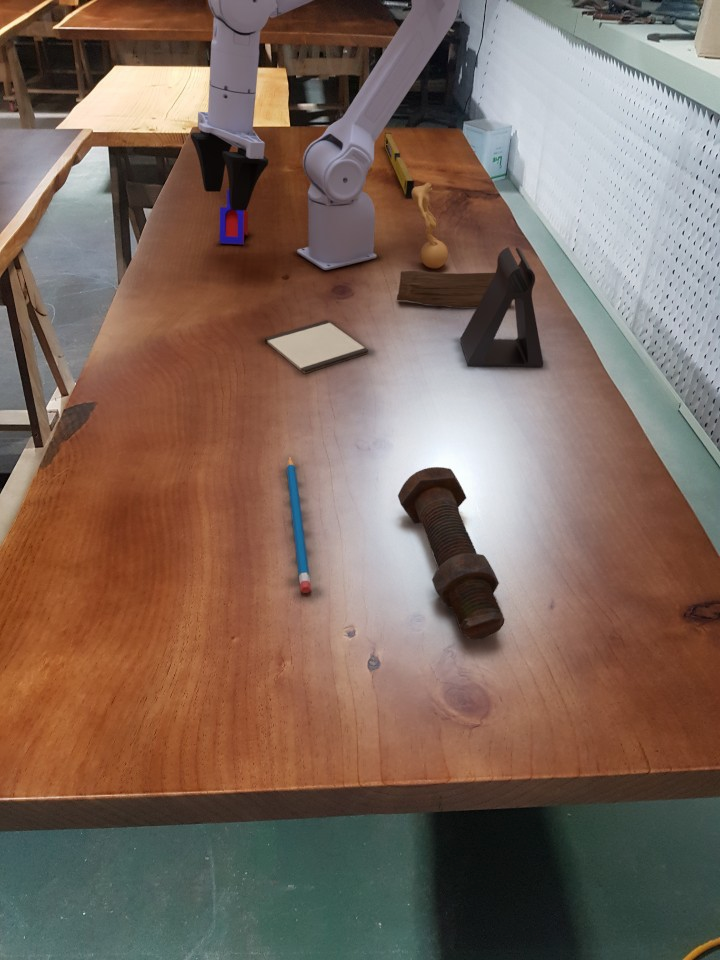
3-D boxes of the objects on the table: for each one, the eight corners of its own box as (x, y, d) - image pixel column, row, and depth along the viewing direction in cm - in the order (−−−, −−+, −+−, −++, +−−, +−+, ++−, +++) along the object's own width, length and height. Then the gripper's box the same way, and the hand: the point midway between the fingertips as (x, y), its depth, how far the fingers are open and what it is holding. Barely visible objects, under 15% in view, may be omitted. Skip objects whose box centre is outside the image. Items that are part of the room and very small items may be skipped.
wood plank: (508, 303, 97) (515, 267, 94) (511, 309, 95) (518, 274, 92) (396, 301, 96) (399, 265, 93) (397, 308, 95) (400, 272, 91)
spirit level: (412, 197, 130) (414, 180, 128) (405, 197, 130) (406, 180, 128) (390, 147, 156) (391, 132, 154) (384, 147, 155) (384, 132, 154)
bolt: (466, 662, 53) (416, 521, 64) (528, 633, 52) (467, 496, 63) (437, 624, 49) (389, 482, 60) (503, 593, 48) (442, 454, 59)
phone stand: (531, 342, 88) (551, 248, 81) (542, 367, 84) (565, 269, 76) (459, 341, 88) (473, 246, 80) (466, 366, 83) (481, 267, 76)
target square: (327, 323, 90) (326, 320, 90) (368, 353, 85) (368, 350, 85) (264, 341, 86) (264, 337, 86) (304, 373, 81) (304, 370, 80)
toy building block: (247, 247, 113) (248, 193, 111) (243, 244, 109) (243, 188, 107) (225, 246, 113) (225, 192, 111) (219, 242, 109) (220, 187, 107)
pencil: (300, 593, 55) (300, 587, 55) (285, 459, 68) (285, 453, 68) (311, 592, 55) (311, 586, 55) (293, 459, 68) (293, 453, 68)
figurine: (446, 279, 102) (457, 193, 95) (404, 276, 102) (411, 190, 95) (445, 257, 109) (455, 175, 101) (406, 254, 109) (413, 172, 101)
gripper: (177, 72, 90) (174, 182, 98) (231, 100, 82) (223, 219, 90) (227, 77, 94) (220, 183, 102) (283, 104, 86) (271, 217, 94)
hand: (225, 200), depth 96 cm, fingers open, 7 cm apart
